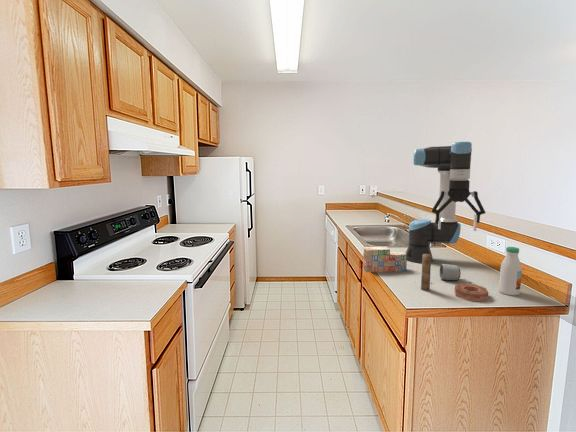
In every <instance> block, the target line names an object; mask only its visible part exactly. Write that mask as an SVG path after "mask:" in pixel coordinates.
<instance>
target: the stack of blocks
mask: <svg viewBox="0 0 576 432" xmlns="http://www.w3.org/2000/svg"><path fill="white" fill-rule="evenodd" d="M407 262H408V260H407V254H406V252H404V251H391V250H390V248H389V247H387V246H364V247H363V270H364V271H365V273H389V272H390V271H391V272H407Z"/></svg>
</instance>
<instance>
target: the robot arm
mask: <svg viewBox="0 0 576 432" xmlns="http://www.w3.org/2000/svg"><path fill="white" fill-rule="evenodd" d="M472 145H473V144H472V142H471V141H455V142H452V144H451V145H445V146H443V145H442V146H428V147H425V148H422V147H421V148H416V149H413V165H414V166H419V167H425V168H430V169H435V168H436V169H437V173H439V177H440V178H439V193H438V195H439V196H438V199H437V201H436V202H435V204H434V205H433V207H432V209H431V212H432V213H434V214H435V218H434V221H433V222H432V220H431V219H428V218H426V219H425V218H424V219H415V220H412V221H410V222H409V225H408V227H409V228H408V246H407V248H406V251H405V253H406V254H407V262H408V261H409V262H411V263H418V264H422V255H423V254H430V255H431V262H432V261H433V254H432V249H431V244H432V243H433V244H447V245H449V244H453V245H454V244H457V243H458V242H459V239H460V235H461V229H462V228H461V226H462V225H461V223H459V220H458V219H457V218H456V210H457V209H456V207H457V206H456V205H457V203H458V202H459V203H463V202H465V203H466V204H467V205H468V206H469V207H470V208H471V210H472V211H473V212H474V213H475V214H474V215H473V223H472V224H473V227H472V230H473V231H474V232H477V224H480V221H481V216H482V215H484V214H486V211H485V209H484V206H483V204H482V203H481V200H480V199H479V193H478V191H476V190H474V191H470V184H471V182H470V178H471V165H472V164H471V162H472V151H473V148H472ZM470 195H471V197H473V198H474V200H475V201H474V202H475V203H476V205H477V208H479V209H477V208H476V206H474V204H472V202H471V201H470V199H469V197H470Z"/></svg>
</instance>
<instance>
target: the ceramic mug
mask: <svg viewBox="0 0 576 432" xmlns="http://www.w3.org/2000/svg"><path fill="white" fill-rule="evenodd" d="M461 274H462V273H461V268H460V266H458V265H456V264H448V263H441V264H440V265H439V278H440V280H442V281H459V280H460V278H461Z"/></svg>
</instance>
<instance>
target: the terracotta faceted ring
mask: <svg viewBox="0 0 576 432" xmlns="http://www.w3.org/2000/svg"><path fill="white" fill-rule="evenodd" d="M454 295H455V296H456V297H458V298H461V299H463V300H466V301H474V302H482V301H485V300H489V291H488V289H487V288H486V287H484V286H481V285H478V284H475V283H472V284H469V283H458V284H455V285H454Z"/></svg>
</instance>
